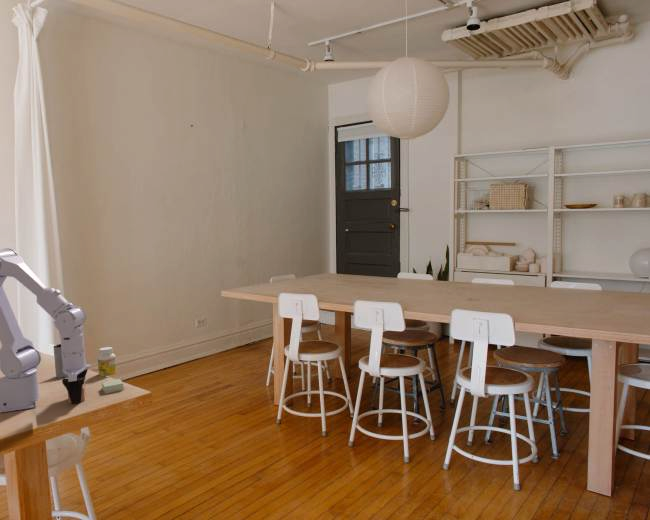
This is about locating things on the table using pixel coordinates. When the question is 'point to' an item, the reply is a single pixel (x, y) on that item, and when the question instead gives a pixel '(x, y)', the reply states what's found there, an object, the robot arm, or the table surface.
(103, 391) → the base block
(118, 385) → the top block
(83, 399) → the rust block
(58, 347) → the grey cylinder
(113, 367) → the supplement bottle
